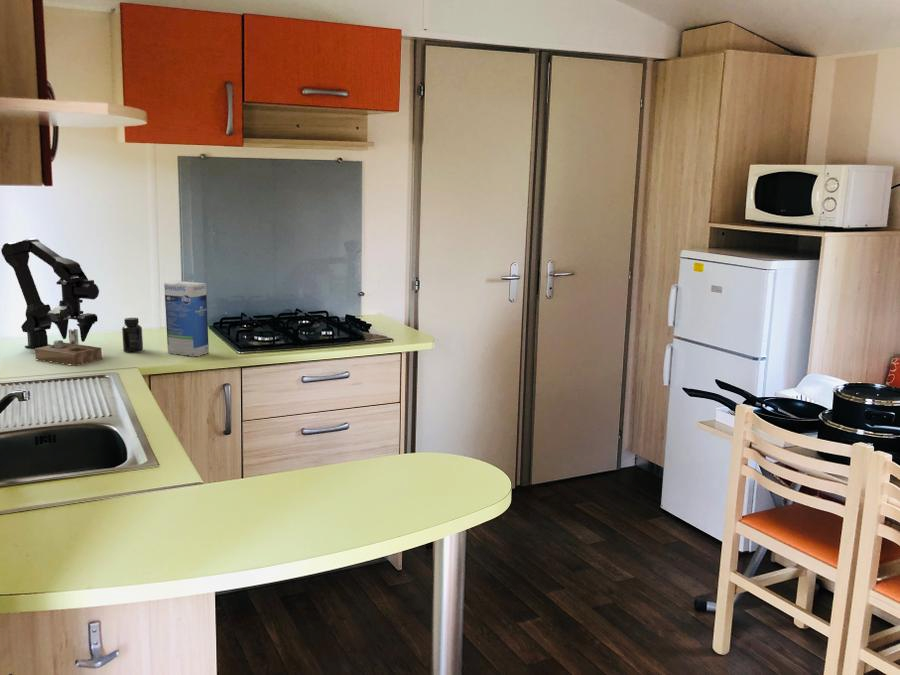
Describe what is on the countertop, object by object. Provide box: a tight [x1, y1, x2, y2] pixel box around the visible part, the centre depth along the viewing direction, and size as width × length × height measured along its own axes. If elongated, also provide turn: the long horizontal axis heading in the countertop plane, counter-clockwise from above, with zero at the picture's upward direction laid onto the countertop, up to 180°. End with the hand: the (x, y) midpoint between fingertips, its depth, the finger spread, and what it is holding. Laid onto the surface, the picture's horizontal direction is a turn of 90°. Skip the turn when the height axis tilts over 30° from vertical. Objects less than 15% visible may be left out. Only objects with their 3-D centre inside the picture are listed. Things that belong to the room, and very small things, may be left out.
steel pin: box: [68, 328, 80, 345], centre depth 311 cm, size 3×3×8 cm
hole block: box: [34, 341, 103, 366], centre depth 299 cm, size 12×18×4 cm, turn 66°
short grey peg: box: [53, 339, 64, 349], centre depth 301 cm, size 3×3×6 cm
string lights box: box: [163, 280, 210, 357], centre depth 310 cm, size 13×8×26 cm, turn 68°
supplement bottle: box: [121, 317, 144, 353], centre depth 314 cm, size 7×7×12 cm
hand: (73, 340), depth 311 cm, fingers open, 9 cm apart
